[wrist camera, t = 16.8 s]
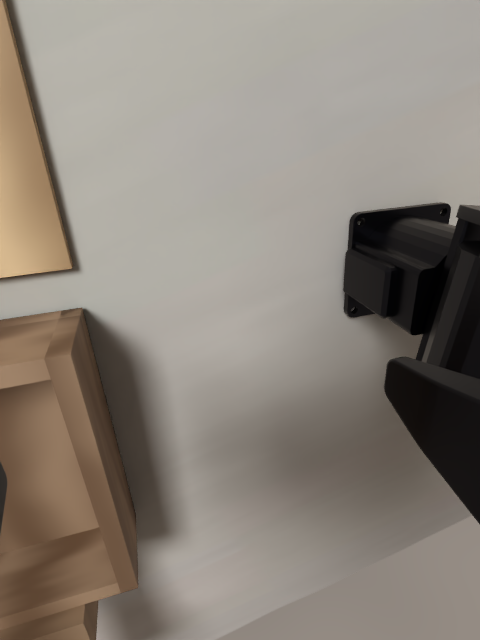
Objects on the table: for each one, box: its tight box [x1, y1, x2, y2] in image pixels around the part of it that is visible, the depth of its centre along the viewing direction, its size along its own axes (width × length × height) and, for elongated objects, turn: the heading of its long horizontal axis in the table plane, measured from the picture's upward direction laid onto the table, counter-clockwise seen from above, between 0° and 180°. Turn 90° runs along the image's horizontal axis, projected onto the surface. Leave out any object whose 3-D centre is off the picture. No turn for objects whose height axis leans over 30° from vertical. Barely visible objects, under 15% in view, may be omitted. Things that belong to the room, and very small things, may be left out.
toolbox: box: [0, 308, 138, 640], centre depth 20 cm, size 11×19×6 cm, turn 3°
